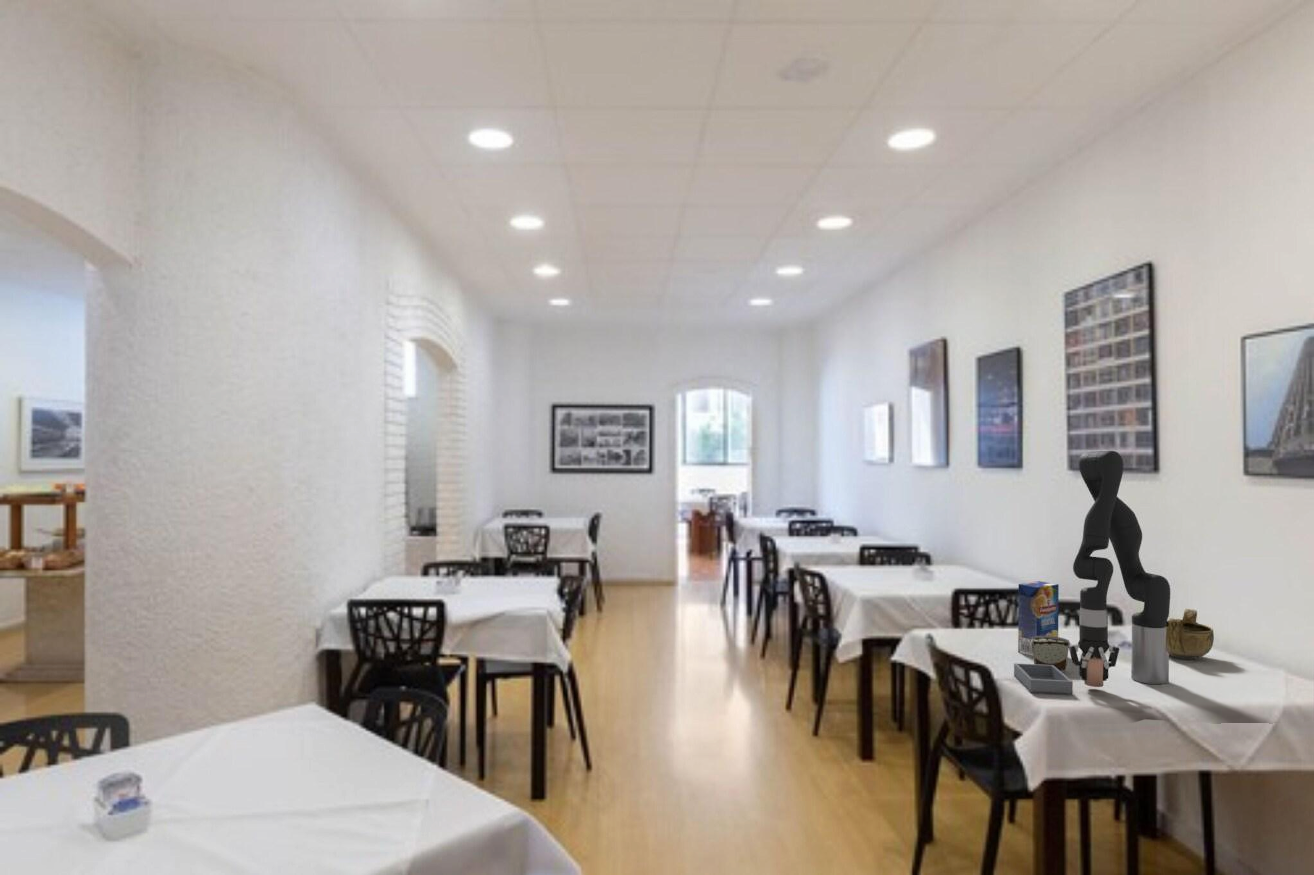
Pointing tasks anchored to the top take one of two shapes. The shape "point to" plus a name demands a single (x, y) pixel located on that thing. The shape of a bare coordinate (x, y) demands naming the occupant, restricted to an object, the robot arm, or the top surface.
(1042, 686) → the bin
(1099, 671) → the brown upright block
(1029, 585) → the juice carton
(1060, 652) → the food container
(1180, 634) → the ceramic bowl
